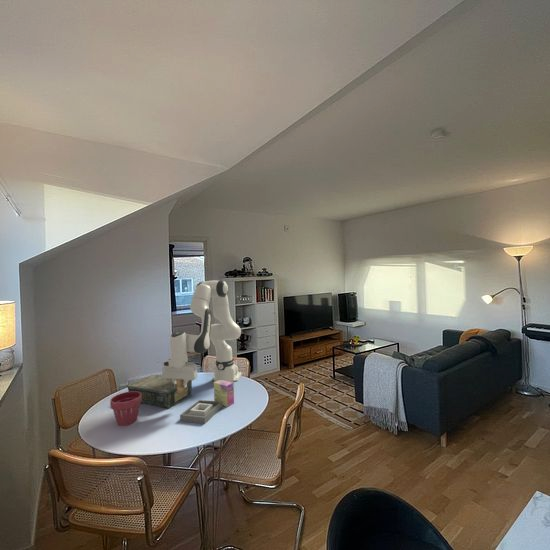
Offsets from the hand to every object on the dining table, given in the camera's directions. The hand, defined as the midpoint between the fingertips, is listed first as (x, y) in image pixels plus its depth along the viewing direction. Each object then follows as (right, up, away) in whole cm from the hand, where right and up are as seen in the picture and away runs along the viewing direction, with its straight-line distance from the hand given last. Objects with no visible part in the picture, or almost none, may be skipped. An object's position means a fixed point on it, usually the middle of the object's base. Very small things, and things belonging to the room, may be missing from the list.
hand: (180, 386), depth 158 cm
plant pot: (-23, -14, -11) cm, 29 cm away
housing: (+13, -12, -6) cm, 19 cm away
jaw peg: (0, -3, 0) cm, 3 cm away
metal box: (-17, -14, +17) cm, 28 cm away
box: (+23, -12, +6) cm, 26 cm away
